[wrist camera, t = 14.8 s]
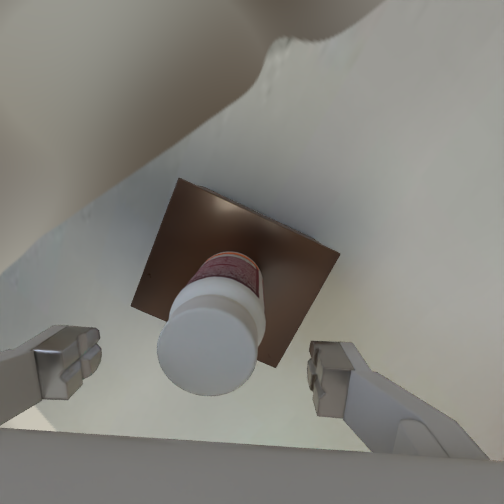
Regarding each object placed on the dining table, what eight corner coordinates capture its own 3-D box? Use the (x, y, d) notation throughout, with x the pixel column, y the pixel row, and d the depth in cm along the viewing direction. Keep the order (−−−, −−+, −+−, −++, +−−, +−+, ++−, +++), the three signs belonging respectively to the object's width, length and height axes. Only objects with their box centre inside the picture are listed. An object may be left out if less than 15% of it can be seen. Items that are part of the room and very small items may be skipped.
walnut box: (165, 276, 25) (129, 306, 18) (202, 183, 23) (178, 177, 16) (271, 323, 26) (276, 368, 19) (316, 237, 24) (340, 253, 17)
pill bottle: (187, 265, 17) (123, 325, 9) (246, 239, 17) (235, 278, 9) (215, 320, 18) (180, 420, 10) (273, 297, 18) (285, 383, 9)
